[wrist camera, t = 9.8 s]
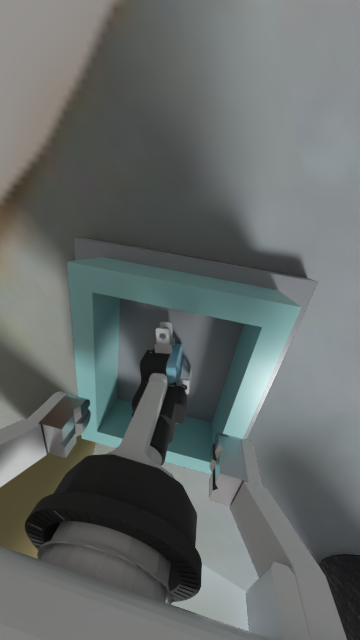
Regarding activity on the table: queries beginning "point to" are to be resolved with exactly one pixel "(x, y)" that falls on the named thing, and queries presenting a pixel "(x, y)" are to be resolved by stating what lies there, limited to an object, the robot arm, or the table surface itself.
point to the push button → (129, 497)
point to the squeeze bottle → (34, 494)
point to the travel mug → (345, 590)
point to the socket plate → (179, 338)
